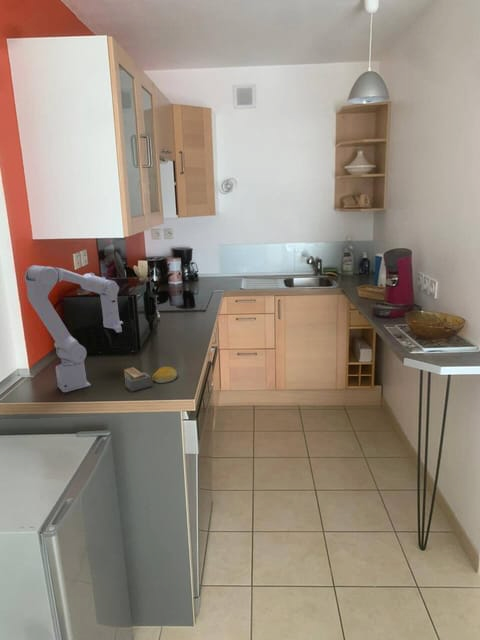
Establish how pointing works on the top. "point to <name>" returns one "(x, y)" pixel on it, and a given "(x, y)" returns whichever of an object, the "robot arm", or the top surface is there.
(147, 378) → the end cap
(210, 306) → the top surface
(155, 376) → the bread roll
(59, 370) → the robot arm
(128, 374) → the brown wooden block
